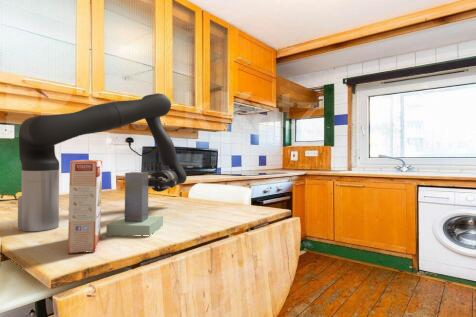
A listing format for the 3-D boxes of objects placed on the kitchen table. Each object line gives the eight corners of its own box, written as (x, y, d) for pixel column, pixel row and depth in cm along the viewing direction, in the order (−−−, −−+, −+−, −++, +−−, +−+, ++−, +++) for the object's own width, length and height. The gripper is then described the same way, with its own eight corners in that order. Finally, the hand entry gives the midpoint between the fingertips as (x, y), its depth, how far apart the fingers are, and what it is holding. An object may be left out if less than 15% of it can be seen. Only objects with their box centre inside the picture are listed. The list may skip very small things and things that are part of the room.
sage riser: (106, 235, 79) (106, 224, 79) (125, 225, 91) (125, 215, 91) (149, 236, 79) (149, 225, 79) (162, 225, 91) (162, 216, 91)
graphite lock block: (124, 221, 82) (125, 173, 82) (131, 218, 87) (132, 172, 87) (141, 222, 82) (142, 173, 82) (148, 218, 87) (148, 172, 87)
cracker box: (97, 252, 66) (98, 160, 65) (66, 255, 63) (67, 160, 63) (102, 235, 79) (103, 159, 78) (77, 237, 76) (77, 159, 76)
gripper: (144, 170, 110) (126, 172, 93) (181, 170, 109) (169, 173, 93) (144, 189, 110) (125, 196, 94) (181, 190, 109) (169, 196, 93)
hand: (147, 184), depth 93 cm, fingers open, 8 cm apart
